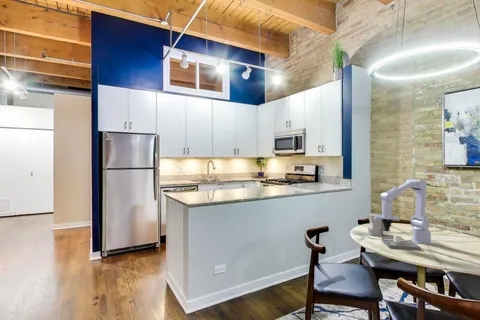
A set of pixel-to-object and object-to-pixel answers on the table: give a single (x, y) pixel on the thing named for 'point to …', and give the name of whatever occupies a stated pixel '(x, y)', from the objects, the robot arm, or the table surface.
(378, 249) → the table surface
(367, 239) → the table surface
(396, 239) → the handle
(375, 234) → the circuit breaker
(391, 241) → the panel
